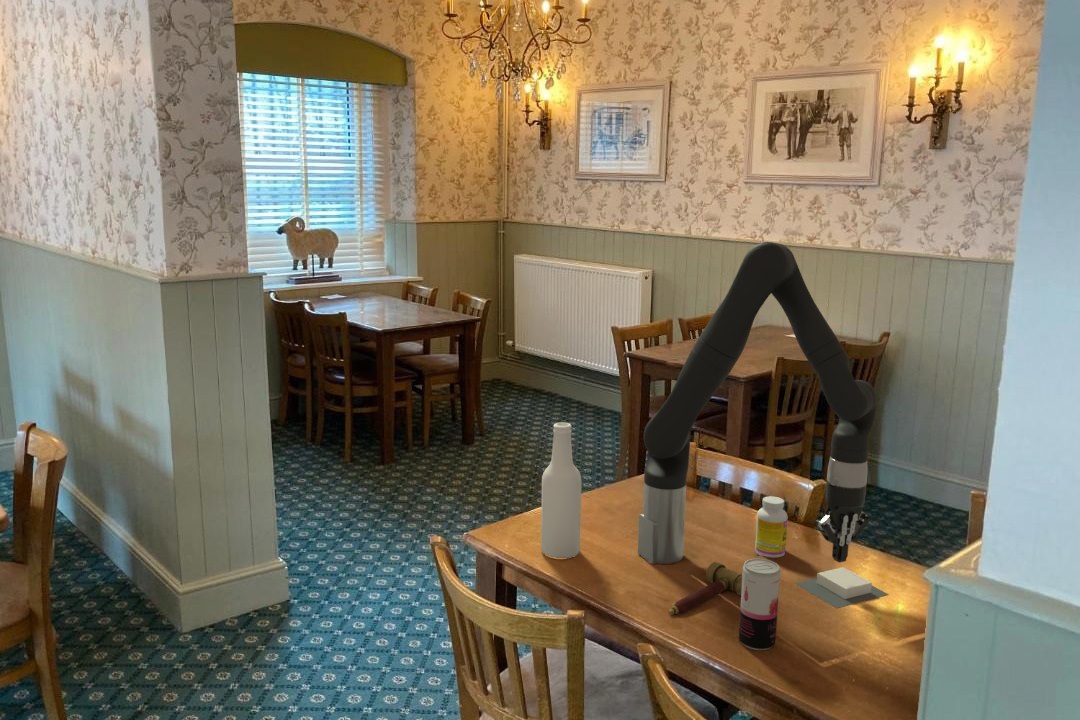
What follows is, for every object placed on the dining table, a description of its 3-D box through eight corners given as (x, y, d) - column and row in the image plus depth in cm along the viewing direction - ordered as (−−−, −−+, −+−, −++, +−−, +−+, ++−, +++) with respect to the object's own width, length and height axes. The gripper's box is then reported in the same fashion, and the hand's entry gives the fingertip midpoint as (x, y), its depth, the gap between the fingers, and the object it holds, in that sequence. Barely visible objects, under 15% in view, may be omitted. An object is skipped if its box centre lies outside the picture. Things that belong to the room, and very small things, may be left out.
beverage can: (781, 649, 160) (787, 572, 157) (747, 653, 159) (752, 575, 156) (765, 631, 166) (770, 556, 163) (732, 634, 165) (737, 559, 162)
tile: (845, 589, 177) (871, 582, 180) (817, 573, 184) (842, 567, 187) (844, 599, 178) (870, 593, 181) (816, 583, 185) (842, 577, 188)
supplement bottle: (785, 561, 197) (789, 506, 194) (755, 558, 198) (758, 504, 196) (783, 549, 203) (787, 495, 201) (754, 546, 205) (757, 493, 202)
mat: (836, 610, 174) (836, 608, 174) (794, 585, 185) (794, 583, 185) (888, 597, 180) (888, 594, 180) (845, 573, 191) (845, 571, 191)
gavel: (689, 611, 167) (650, 592, 175) (689, 633, 168) (650, 613, 176) (758, 574, 180) (719, 558, 188) (757, 595, 181) (719, 578, 189)
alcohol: (587, 551, 201) (590, 424, 195) (563, 564, 194) (565, 432, 188) (557, 541, 206) (559, 416, 200) (533, 553, 200) (534, 424, 193)
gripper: (857, 470, 183) (850, 548, 187) (808, 478, 178) (801, 559, 181) (885, 481, 177) (877, 562, 180) (835, 490, 171) (827, 573, 175)
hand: (839, 560), depth 181 cm, fingers closed
